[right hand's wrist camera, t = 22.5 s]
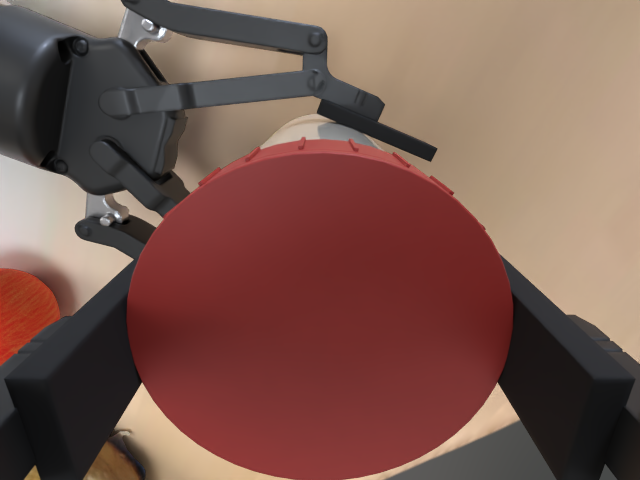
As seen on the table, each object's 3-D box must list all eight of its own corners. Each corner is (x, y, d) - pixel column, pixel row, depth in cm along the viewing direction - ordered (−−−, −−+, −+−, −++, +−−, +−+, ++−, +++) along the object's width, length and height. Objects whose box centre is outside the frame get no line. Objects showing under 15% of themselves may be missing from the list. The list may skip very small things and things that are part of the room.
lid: (365, 459, 15) (372, 524, 13) (111, 345, 13) (68, 398, 11) (549, 250, 12) (602, 287, 9) (251, 60, 10) (231, 52, 8)
